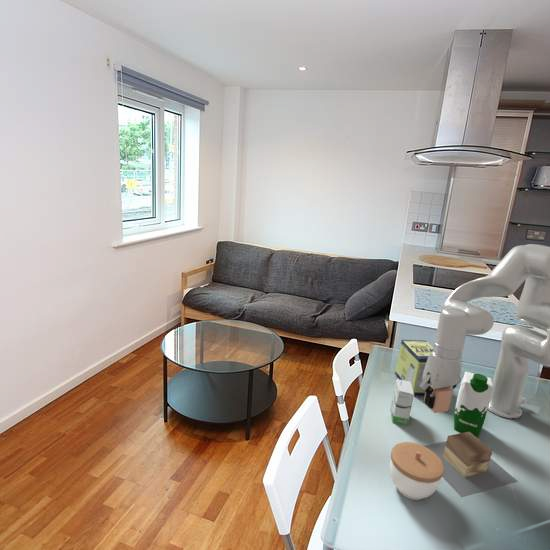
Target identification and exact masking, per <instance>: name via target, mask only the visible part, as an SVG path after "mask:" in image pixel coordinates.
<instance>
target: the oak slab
mask: <svg viewBox="0 0 550 550" xmlns="http://www.w3.org/2000/svg"><path fill="white" fill-rule="evenodd" d="M443 457H444V458H445V459H446V460H447V461H448V462H449V463H450V464H451V465H452V466H453V467H454V468H455V469H456V470H457V471H458V472H459V473H460V474H461V475H463V476H464V477H467V476H471V475H475V474H479V473H483V472H486V471H487V468H488V464H489V462H485V463H480V464H476V465H472V466H468V467H467V466H466V465H465V464H464V463H463V462H462V461H461V460H460V459H459V458H458V457H456V456H455V455H454V454H453V453H452V452H451V451H450V450H449V449H448V448H447V447H446V446H445V449H444V453H443Z"/></svg>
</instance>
